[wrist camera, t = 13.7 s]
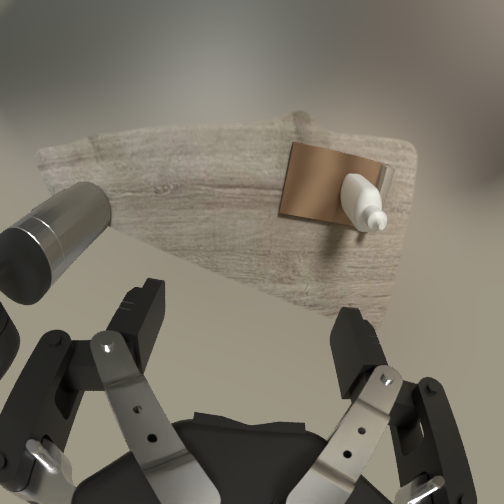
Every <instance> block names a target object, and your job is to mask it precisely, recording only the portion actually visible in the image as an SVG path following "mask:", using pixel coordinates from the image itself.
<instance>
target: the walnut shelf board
mask: <svg viewBox="0 0 504 504" xmlns="http://www.w3.org/2000/svg"><path fill="white" fill-rule="evenodd" d="M394 170H395V169H394V168H392V167H390V166H389V165H387V164H384V163H380V162H376V161H373V160H369V159H365V158H362V157H358V156H354V155H350V154H346V153H342V152H338V151H334V150H329V149H325V148H320V147H316V146H311V145H306V144H301V143H296V142H293V144H292V149H291V154H290V159H289V164H288V169H287V174H286V179H285V184H284V189H283V194H282V199H281V204H280V208H279V213H283V214H288V215H294V216H300V217H306V218H311V219H317V220H322V221H328V222H333V223H338V224H344V225H349V226H354V225H353V223H352V222H351V220H350V219H349V217H348V216H347V215H346V213H345V212H344V210H343V208H342V204H341V197H340V193H341V187H342V183H343V181H344V179H345V177H346V175H347V174H360V175H362V176H363V177H364V178H365V179H367V180H368V181H369V182H370V183H371V184H372V185H374V186H375V187H376V188H377V189H378V191H379V193H380V196H381V201H382V211H383V208H384V205H385V201H386V198H387V195H388V191H389V188H390V185H391V181H392V178H393V174H394ZM354 227H355V226H354ZM375 232H376V231H371V232H366V233H367V234H369V235H375Z"/></svg>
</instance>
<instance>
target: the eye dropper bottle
mask: <svg viewBox="0 0 504 504" xmlns="http://www.w3.org/2000/svg"><path fill="white" fill-rule="evenodd" d="M340 197H341V204H342V208H343V210H344V212H345V213H346V215H347V216H348V217H349V219H350V220H351V222H352V223H353V225H354V226H355V227H356V229H357V230H358V231H360V232H371V231H380V230H383V229H384V228H385V226H386V224H387V216H386V214H385V213H384V212H383V211H382V201H381V196H380V193H379V191H378V189H377V188H376V187H375V186H374V185H372V184H371V183H370V182H369V181H368V180H367V179H365V178H364V177H363V176H362V175H360V174H347V175H346V177H345V179H344V181H343V183H342V187H341V193H340Z"/></svg>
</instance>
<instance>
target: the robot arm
mask: <svg viewBox="0 0 504 504" xmlns="http://www.w3.org/2000/svg"><path fill="white" fill-rule="evenodd" d="M110 219H111V208H110V204H109V201H108V199H107V197H106V195H105V194H104V192H103V191H102V190H101V189H100V188H99V187H98V186H96V185H94V184H92V183H89V182H80V183H77V184H75V185H73V186H71V187H70V188H68V189H64V190H62V191H61V192H59V193H57V194H56V195H54V196H52V197H51V198H49V199H48V200H46V201H45V202H43V203H42V204H40V205H38V206H37V207H35V208H34V209H32V211H31V212H30V213H29V214H27V215H26V216H24V217H23V218H21V219H20V220H19V221H17V222H16V223H14V224H13V225H12V226H10V227H9V228H7V229H6V230H5V231H3V232H2V233H1V234H0V291H1V292H3V293H4V294H5V295H6V296H7V297H8V298H10V299H11V300H13V301H15V302H17V303H19V304H23V305H32V304H35V303H36V302H38V301H39V300H40V299H41V298H42V297H43V296H44V295H45V293H46V292H47V291H48V290H49V289H50V288H51V286H52V285H53V284H54V283H55V282H56V281H57V280H58V278H59V277H60V276H61V275H62V274H63V273H64V272H65V271H66V269H67V268H68V267H69V266H70V265H71V264H72V263H73V262H74V261H75V260H76V259H77V258H78V257H79V256H80V255H81V253H82V252H83V251H84V250H85V249H86V248H87V247H88V246H89V245H90V244H91V243H92V242H93V241H94V240H95V239H96V238H97V237H98V236H99V235H100V234H101V233H102V232H103V231H104V230H105V229H106V228H107V226H108V225H109V222H110ZM164 315H165V281H164V280H158V279H152V278H147V280H146V282H145V284H144V285H143V287H142V288H139V287H134V288H133V289H132V290H130V291H129V292H127V294H126V296H125V297H124V299H123V302H121V304H120V306H119V308H118V309H117V311H116V313H115V315H114V316H113V318H112V320H111V322H110V323H109V325H108V327H107V329H106V330H105V331H101V332H98V333H97V334H95V335H94V336H93V337H92V339H91V340H71V338H70V336H69V335H68V334H67V333H66V332H64V331H62V330H52V331H49V332H47V333H45V334H44V335H43V336H42V337H41V339H40V340H39V342H38V344H37V345H36V347H35V349H34V351H33V352H32V354H31V356H30V358H29V359H28V361H27V363H26V365H25V367H24V368H23V370H22V372H21V374H20V376H19V378H18V379H17V381H16V383H15V385H14V388H13V389H12V391H11V393H10V395H9V397H8V399H7V401H6V403H5V405H4V408H3V410H2V412H1V414H0V485H1V486H3V488H5V489H6V490H8V491H9V492H11V493H13V494H14V495H15V496H17V497H19V498H20V499H22V500H25V501H27V502H29V503H30V504H477V496H476V492H475V487H474V483H473V479H472V475H471V471H470V467H469V464H468V460H467V457H466V453H465V450H464V446H463V443H462V440H461V437H460V434H459V430H458V427H457V424H456V421H455V419H454V416H453V413H452V410H451V408H450V404H449V402H448V399H447V396H446V394H445V391H444V389H443V386H442V385H441V384H440V383H439V382H438V381H437V380H435V379H433V378H430V377H426V378H423V379H421V380H420V382H419V383H418V384H415V383H411V382H407V381H404V380H402V377H401V375H400V373H399V372H398V371H397V370H396V369H394V368H393V367H390V366H388V363H387V361H386V358H385V355H384V353H383V350H382V348H381V345H380V344H379V340H378V337H377V335H376V332H375V330H374V327H373V326H372V325H371V324H370V323H369V322H368V321H367V320H363V318H362V315H361V313H360V310H359V309H358V308H350V307H342V308H341V310H340V312H339V314H338V317H337V319H336V321H335V324H334V326H333V329H332V331H331V335H330V345H331V350H332V355H333V359H334V364H335V368H336V373H337V378H338V382H339V387H340V392H341V397H342V399H351V402H352V404H351V405H350V406H349V408H348V409H347V411H346V412H345V414H344V416H343V417H342V418H341V420H340V421H339V423H338V425H337V426H336V427H335V429H334V430H333V432H332V433H331V434H330V436H329V437H328V438H327V440H325V439H324V438H322V437H320V436H319V435H317V434H315V433H312V432H309V431H306V430H305V423H293V422H273V423H267V424H260V425H247V424H244V423H241V422H238V421H235V420H232V419H229V418H226V417H223V416H217V415H210V414H204V413H198V412H195V413H194V418H193V419H187V420H181V421H178V422H174V423H170V422H169V420H168V418H167V417H166V414H165V413H164V411H163V409H162V407H161V406H160V404H159V402H158V400H157V398H156V397H155V395H154V393H153V391H152V389H151V387H150V385H149V383H148V381H147V379H146V378H145V376H144V375H143V374H144V371H145V368H146V365H147V362H148V359H149V357H150V354H151V352H152V349H153V346H154V343H155V341H156V338H157V335H158V333H159V330H160V327H161V325H162V322H163V319H164ZM19 346H20V336H19V333H18V331H17V329H16V327H15V325H14V324H13V322H12V320H11V319H10V317H9V315H8V314H7V312H6V310H5V309H4V307H3V305H2V303H1V302H0V380H1V378H2V377H3V376H4V374H5V373H6V372H7V370H8V369H9V367H10V366H11V364H12V362H13V360H14V358H15V357H16V355H17V352H18V349H19ZM141 374H142V375H141ZM84 391H105V394H106V396H107V399H108V401H109V404H110V406H111V409H112V411H113V413H114V416H115V418H116V421H117V423H118V425H119V428H120V430H121V432H122V434H123V437H124V439H125V441H126V443H127V445H128V447H129V449H130V451H129V452H127V453H126V454H124V455H123V456H121V457H120V458H118V459H117V460H115V461H114V462H112V463H111V464H109V465H108V466H106V467H104V468H103V469H101V470H100V471H98V472H96V473H95V474H93V475H92V476H90V477H88V478H87V479H85V480H84V481H82V482H81V483H80V484H79V485H78V486H77V487H75V486H74V484H73V482H72V477H71V475H72V467H71V463H70V461H69V460H68V458H67V457H66V456H65V455H64V454H63V453H64V449H65V446H66V443H67V439H68V437H69V434H70V431H71V428H72V425H73V422H74V419H75V416H76V413H77V410H78V407H79V405H80V402H81V399H82V396H83V394H84ZM420 422H421V425H422V428H423V432H424V438H423V434H422V431H421V427H420ZM387 425H389V426H390V430H391V435H392V440H393V445H394V451H395V456H396V462H397V468H398V474H399V480H400V487H401V488H400V489H399V490H398V492H397V494H396V496H395V502H394V503H391V501H389V500H388V499H387V498H386V497H385V496H384V495H383V494H382V493H381V492H380V491H378V490H377V489H376V488H375V487H374V486H373V485H372V484H371V483H370V482H369V481H368V480H367V479H366V478H365V477H363V476H362V475H361V473H362V471H363V469H364V468H365V466H366V464H367V462H368V461H369V459H370V457H371V455H372V454H373V452H374V450H375V448H376V446H377V444H378V442H379V440H380V438H381V436H382V435H383V433H384V430H385V429H386V426H387Z"/></svg>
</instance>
